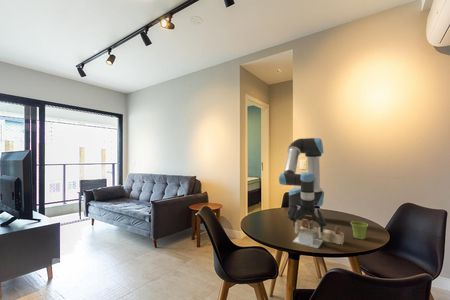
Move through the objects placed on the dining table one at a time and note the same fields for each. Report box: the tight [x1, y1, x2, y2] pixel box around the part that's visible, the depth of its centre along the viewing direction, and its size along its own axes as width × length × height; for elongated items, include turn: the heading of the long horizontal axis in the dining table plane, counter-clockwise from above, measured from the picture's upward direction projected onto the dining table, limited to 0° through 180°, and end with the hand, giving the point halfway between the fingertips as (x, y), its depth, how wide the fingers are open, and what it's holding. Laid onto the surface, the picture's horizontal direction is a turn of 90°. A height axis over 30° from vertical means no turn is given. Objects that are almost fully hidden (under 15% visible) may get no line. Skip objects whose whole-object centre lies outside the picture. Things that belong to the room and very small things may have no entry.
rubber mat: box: [292, 236, 324, 249], centre depth 129 cm, size 14×11×1 cm
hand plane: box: [299, 218, 345, 246], centre depth 135 cm, size 24×6×10 cm, turn 54°
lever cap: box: [297, 229, 317, 245], centre depth 129 cm, size 9×8×6 cm
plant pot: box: [349, 221, 369, 240], centre depth 136 cm, size 9×9×9 cm
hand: (307, 234), depth 129 cm, fingers open, 13 cm apart
